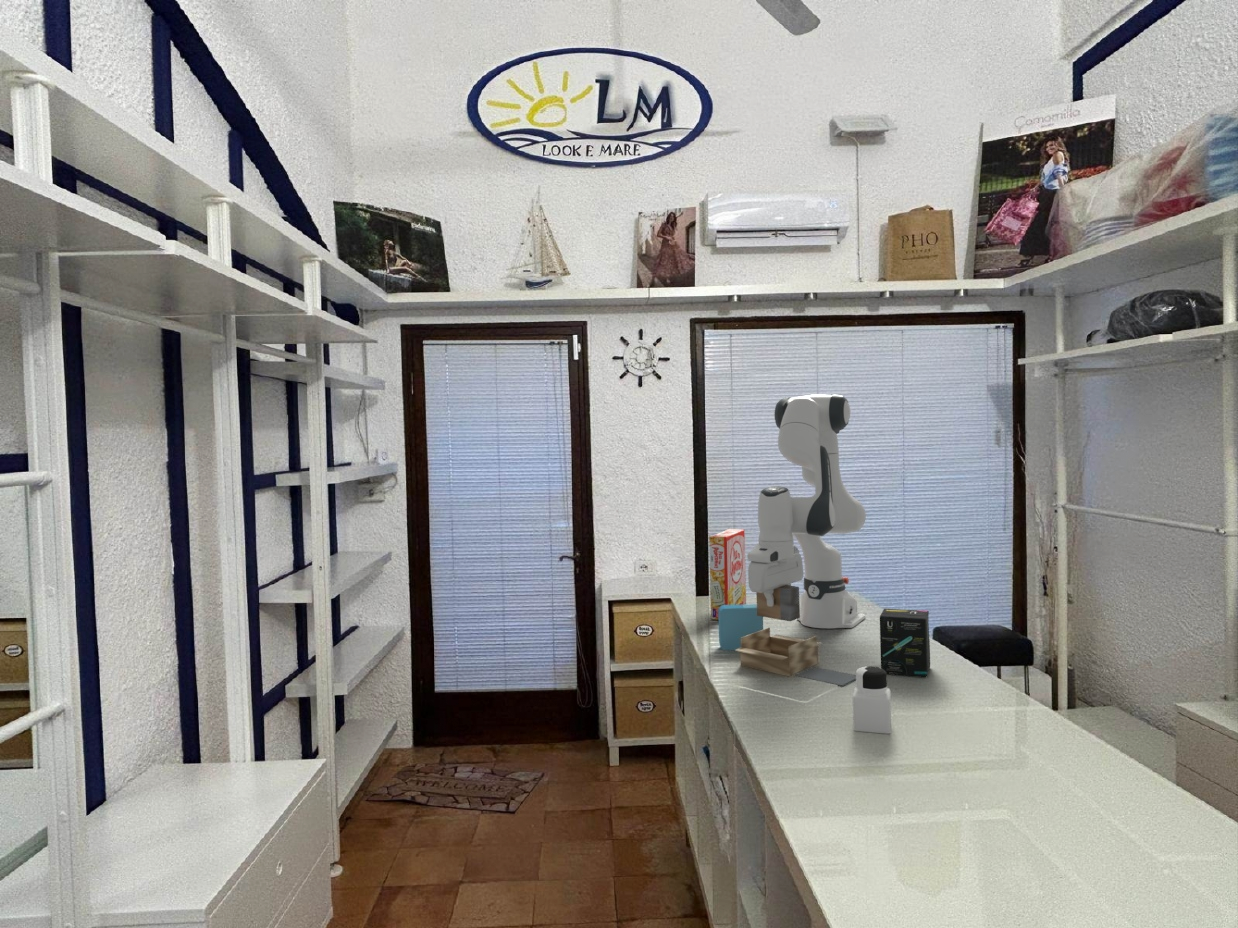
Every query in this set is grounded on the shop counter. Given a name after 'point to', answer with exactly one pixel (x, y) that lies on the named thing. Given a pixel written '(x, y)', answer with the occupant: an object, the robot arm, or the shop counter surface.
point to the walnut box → (780, 604)
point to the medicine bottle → (871, 701)
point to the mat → (827, 676)
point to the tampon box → (905, 642)
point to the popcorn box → (727, 569)
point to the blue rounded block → (737, 624)
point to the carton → (778, 652)
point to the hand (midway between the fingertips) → (777, 603)
